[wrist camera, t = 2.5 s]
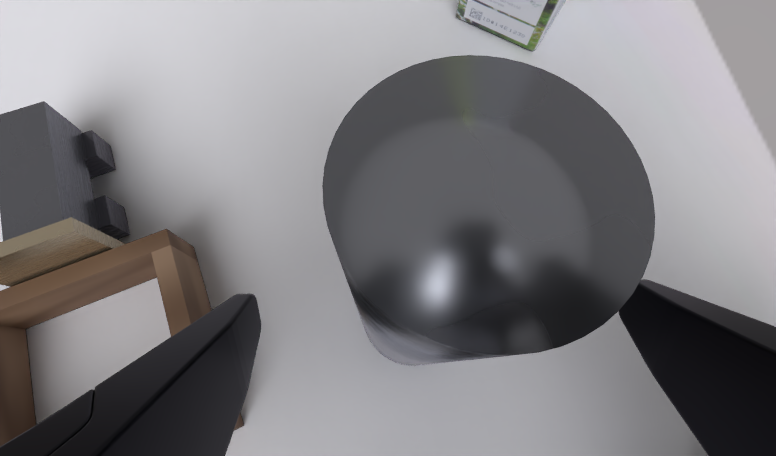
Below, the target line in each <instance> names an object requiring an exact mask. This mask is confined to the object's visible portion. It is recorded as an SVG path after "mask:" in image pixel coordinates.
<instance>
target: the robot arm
mask: <svg viewBox="0 0 776 456" xmlns="http://www.w3.org/2000/svg"><path fill="white" fill-rule="evenodd" d="M619 315H620V318H621V320H622V322H623V323H624V325H625V327H626V329H627V331H628V332H629V334H630V336H631V338H632V339H633V341H634V343H635V345H636V347H637V348H638V350H639V352H640V354H641V356H642V357H643V359H644V361H645V363H646V364H647V366H648V368H649V369H650V371H651V373H652V374H653V376H654V377H655V379H656V380H657V382H658V383H659V385H660V386H661V388H662V389H663V391H664V392H665V394H666V395H667V396H668V398H669V399H670V401H671V402H672V404H673V405H674V407H675V408H676V409H677V411H678V412H679V414H680V415H681V417H682V418H683V420H684V421H685V422H686V424H687V425H688V427H689V428H690V430H691V431H692V433H693V434H694V435H695V437H696V438H697V440H698V441H699V443H700V444H701V446H702V447H703V448H704V450H705V451H706V453H707V454H708V456H776V327H774V326H772V325H769V324H766V323H764V322H761V321H758V320H756V319H753V318H750V317H747V316H745V315H742V314H739V313H737V312H734V311H731V310H728V309H726V308H723V307H720V306H718V305H715V304H712V303H709V302H707V301H704V300H701V299H699V298H696V297H693V296H690V295H688V294H685V293H682V292H680V291H677V290H674V289H672V288H669V287H666V286H663V285H661V284H658V283H655V282H653V281H650V280H640V282H639V284H638V285H637V287H636V289H635V291H634V292H633V294H632V295H631V296H630V298H629V299H628V300H627V301H626V303H625V304H624V305H623V306H622V308H621V309H620V310H619ZM260 332H261V320H260V315H259V310H258V304H257V300H256V297H255V295H254V294H237V295H234V296H233V297H231V298H230V299H228V300H227V301H225V302H224V303H222V304H221V305H219V306H218V307H216V308H215V309H213V310H212V311H210V312H209V313H207V314H205V315H204V316H202V317H201V318H199V319H198V320H196V321H195V322H193V323H192V324H190V325H189V326H187V327H186V328H184V329H183V330H181V331H180V332H178V333H177V334H175V335H174V336H172V337H170V338H169V339H167V340H166V341H164V342H163V343H161V344H160V345H158V346H157V347H155V348H154V349H152V350H151V351H149V352H148V353H146V354H145V355H143V356H142V357H140V358H138V359H137V360H135V361H134V362H132V363H131V364H129V365H128V366H126V367H125V368H123V369H122V370H120V371H119V372H117V373H116V374H114V375H113V376H111V377H110V378H108V379H107V380H105V381H103V382H102V383H100V384H99V385H97V386H96V387H95V390H90V391H88V392H87V393H85V394H84V395H82V396H81V397H79V398H78V399H76V400H74V401H73V402H71V403H70V404H68V405H67V406H65V407H64V408H62V409H60V410H59V411H57V412H56V413H54V414H53V415H51V416H50V417H48V418H46V419H45V420H43V421H42V422H40V423H39V424H37V425H35V426H34V427H32V428H30V429H29V430H27V431H25V432H24V433H22V434H20V435H19V436H17V437H15V438H14V439H12V440H10V441H9V442H7V443H5V444H4V445H2V446H0V456H225V454H226V451H227V448H228V446H229V443H230V440H231V437H232V434H233V431H234V428H235V425H236V423H237V420H238V417H239V414H240V411H241V408H242V405H243V402H244V399H245V396H246V393H247V390H248V386H249V382H250V377H251V373H252V368H253V364H254V359H255V355H256V350H257V346H258V341H259V337H260Z"/></svg>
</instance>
